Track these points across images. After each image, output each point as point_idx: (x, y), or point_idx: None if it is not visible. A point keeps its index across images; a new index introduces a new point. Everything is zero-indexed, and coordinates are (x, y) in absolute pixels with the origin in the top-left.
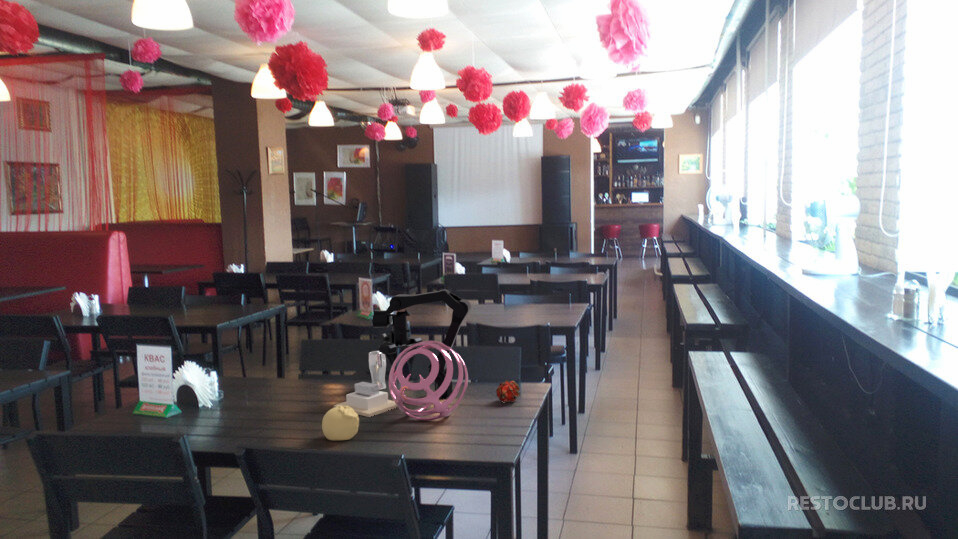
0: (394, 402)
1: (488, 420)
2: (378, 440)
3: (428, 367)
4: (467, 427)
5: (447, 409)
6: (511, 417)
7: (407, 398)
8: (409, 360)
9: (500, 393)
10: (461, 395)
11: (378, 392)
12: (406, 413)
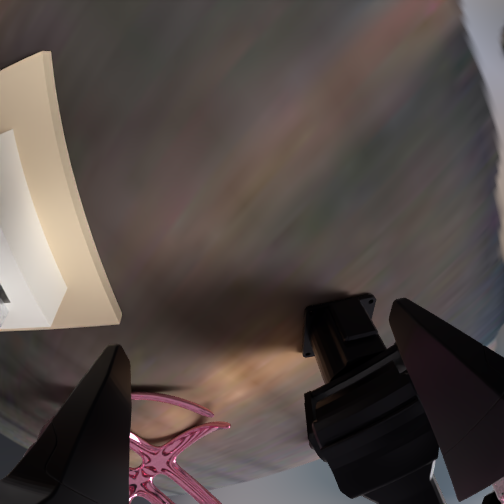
0: (94, 299)
1: (228, 464)
2: (5, 418)
3: (321, 449)
4: None
5: (202, 433)
6: (268, 466)
7: None
8: (410, 334)
9: None
10: (198, 501)
11: (2, 318)
12: None
